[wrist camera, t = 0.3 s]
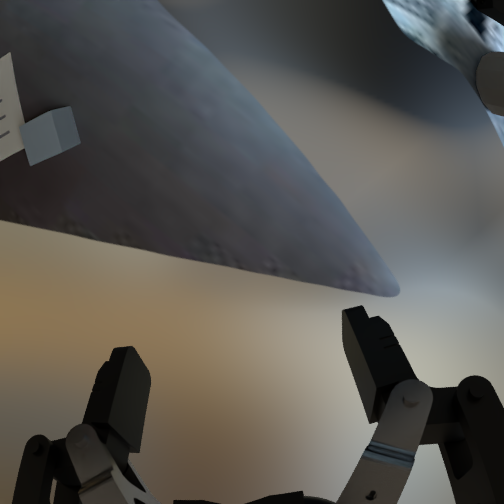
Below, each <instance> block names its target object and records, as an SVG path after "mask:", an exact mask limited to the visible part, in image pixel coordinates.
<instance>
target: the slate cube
mask: <svg viewBox="0 0 504 504" xmlns="http://www.w3.org/2000/svg"><path fill="white" fill-rule="evenodd" d="M19 130H20V133H21V137H22V140H23V144H24V147H25V151H26V154H27V157H28V160H29V163H30V166H32V165H34V164H36V163H39V162H41V161H43V160H45V159H48V158H50V157H52V156H55V155H57V154H59V153H62V152H64V151H66V150H68V149H70V148H72V147H74V146H76V145H78V144H80V143H81V142H80V138H79V135H78V131H77V128H76V124H75V120H74V117H73V113H72V109H71V106H68V107H63V108H59V109H54V110H50V111H48V112H46V113H44V114H42V115H40V116H39V117H37V118H35V119H33V120H31V121H29V122H27V123H25V124H23V125H22V126H20V127H19Z"/></svg>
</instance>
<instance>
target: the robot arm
mask: <svg viewBox="0 0 504 504" xmlns="http://www.w3.org/2000/svg"><path fill="white" fill-rule="evenodd" d="M342 340H343V347H344V351H345V354H346V357H347V360H348V363H349V365H350V368H351V371H352V374H353V377H354V380H355V382H356V385H357V388H358V391H359V394H360V397H361V400H362V403H363V406H364V409H365V412H366V415H367V418H368V421H369V424H371V423H375V422H378V426H377V428H376V430H375V433H374V435H373V437H372V439H371V441H370V443H369V445H368V446H367V447H366V449H365V451H364V453H363V454H362V456H361V458H360V460H359V462H358V464H357V466H356V468H355V470H354V472H353V474H352V476H351V477H350V479H349V481H348V483H347V485H346V487H345V488H344V490H343V492H342V494H341V495H340V497H339V499H338V501H337V502H336V503H335V502H332V501H329V500H327V499H323V498H318V497H311V496H304V494H303V491H297V492H291V493H285V494H278V495H270V496H267V497H264V498H261V499H258V500H255V501H252V502H249V503H246V504H397V502H398V500H399V498H400V495H401V493H402V491H403V489H404V486H405V484H406V482H407V479H408V477H409V475H410V472H411V470H412V467H413V464H414V460H415V459H414V457H415V454H416V451H417V449H418V446H419V445H424V444H438V445H439V448H440V451H441V454H442V458H443V461H444V464H445V467H446V470H447V474H448V477H449V480H450V484H451V487H452V491H453V494H454V498H455V502H456V504H504V408H503V406H502V404H501V402H500V400H499V398H498V396H497V394H496V392H495V390H494V388H493V386H492V385H491V383H490V382H489V381H488V380H487V379H486V378H484V377H481V376H475V375H474V376H469V377H466V378H465V379H463V380H462V381H461V382H460V384H459V385H458V387H446V388H433V387H429V386H428V385H427V384H425V383H424V382H422V381H419V379H418V378H417V377H416V375H415V374H414V372H413V369H412V367H411V365H410V363H409V361H408V360H407V358H406V356H405V354H404V352H403V350H402V348H401V346H400V345H399V342H398V340H397V339H396V337H395V336H394V333H393V331H392V329H391V327H390V325H389V324H388V323H387V322H386V321H384V320H383V319H382V318H381V317H379V316H375V317H371V318H369V317H368V315H367V313H366V311H365V309H364V307H363V306H362V305H361V306H357V307H353V308H349V309H345V310H342ZM150 387H151V377H150V373H149V370H148V369H147V367H146V366H145V364H144V363H143V361H142V359H141V358H140V356H139V354H138V353H137V351H136V350H135V348H134V347H133V346H127V347H117V348H114V349H113V351H112V353H111V356H110V359H109V361H106V362H105V363H104V364H103V365H102V367H101V368H100V370H99V371H98V373H97V376H96V379H95V384H94V386H93V389H92V392H91V395H90V398H89V401H88V405H87V408H86V411H85V415H84V418H83V422H82V424H79V425H77V426H75V427H73V428H72V429H71V430H70V432H69V433H68V434H67V437H66V438H62V439H58V440H54V441H50V440H49V439H48V438H46V437H45V436H44V435H35V436H33V437H32V438H30V439H29V440H28V442H27V443H26V446H25V449H24V453H23V456H22V460H21V464H20V468H19V472H18V477H17V481H16V487H15V491H14V496H13V501H12V504H50V492H51V486H52V481H53V479H55V480H56V481H57V485H56V490H55V497H54V502H53V504H161V503H160V502H159V501H158V500H157V499H156V498H155V497H154V496H153V495H152V494H151V493H150V491H149V489H148V488H147V487H146V485H145V484H144V482H143V481H142V479H141V477H140V476H139V474H138V473H137V471H136V470H135V468H134V466H133V465H132V463H131V462H130V460H129V459H128V456H129V453H139V452H140V446H141V439H142V433H143V426H144V420H145V414H146V409H147V403H148V397H149V392H150ZM173 504H219V503H214V502H209V501H205V500H174V501H173Z"/></svg>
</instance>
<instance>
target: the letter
mask: <svg viewBox="0 0 504 504" xmlns="http://www.w3.org/2000/svg"><path fill="white" fill-rule="evenodd" d="M23 124H25V121H24V117H23V113H22V109H21V105H20V100H19V96H18V91H17V86H16V81H15V76H14V70H13V64H12V58H11V52H9V53H8V54H6V55H5V56H3V57H2V58H1V59H0V161H1V160H3V159H5V158H7V157H9V156H11V155H12V154H14V153H16V152H18V151H20V150H22V149H24V148H25V147H24V144H23V140H22V137H21V133H20V130H19V127H20V126H22V125H23Z"/></svg>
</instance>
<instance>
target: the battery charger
mask: <svg viewBox="0 0 504 504" xmlns="http://www.w3.org/2000/svg"><path fill="white" fill-rule="evenodd" d="M477 10H479V11H480V12H482V13H484V14H485V15H487V16H489V17H490V18H492V19H494V20H495V21H497V22H498V23H500V24H501V25H503V26H504V0H477Z"/></svg>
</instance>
